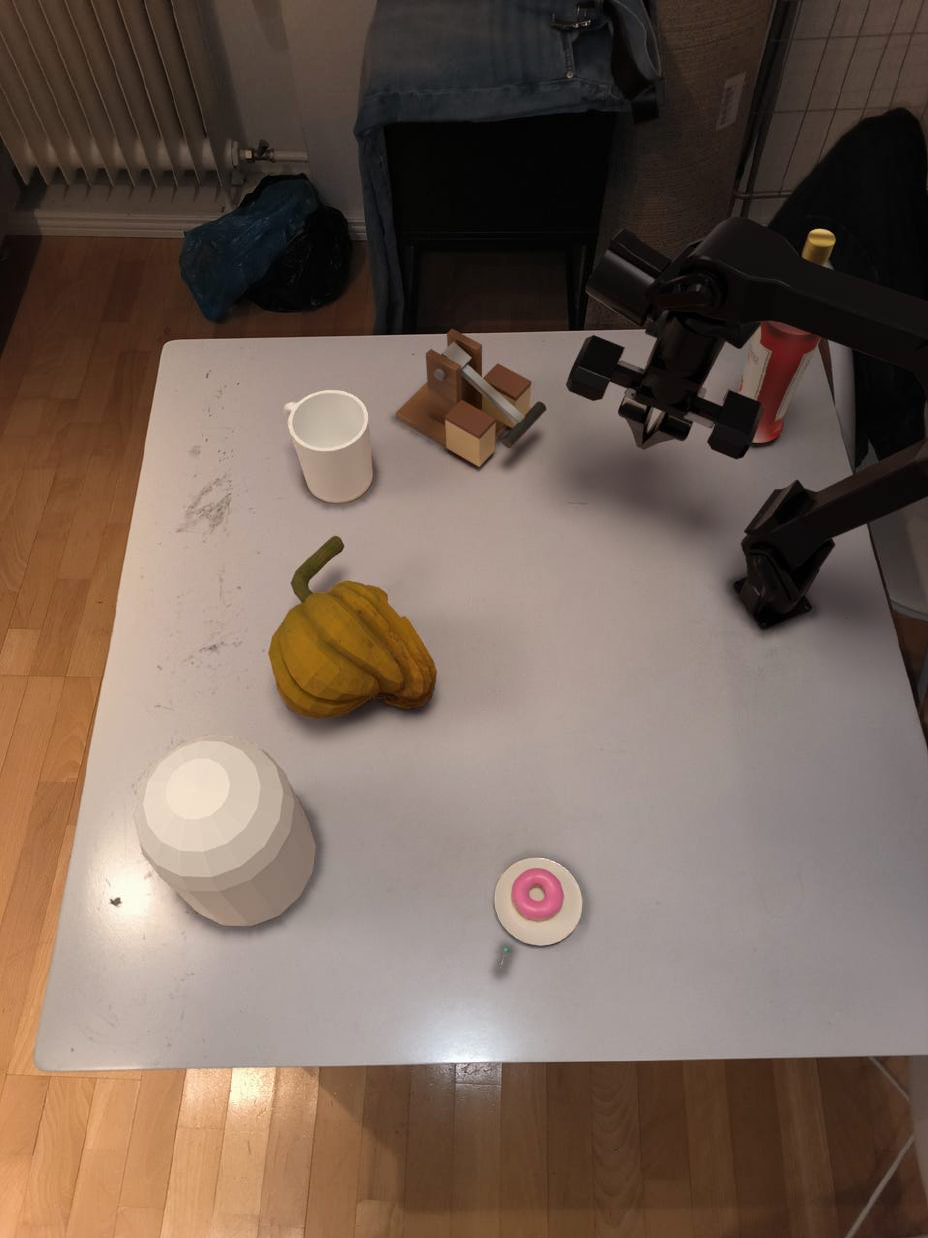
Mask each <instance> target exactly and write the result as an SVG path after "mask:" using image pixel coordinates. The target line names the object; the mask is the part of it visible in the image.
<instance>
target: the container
mask: <svg viewBox="0 0 928 1238" xmlns="http://www.w3.org/2000/svg"><path fill="white" fill-rule="evenodd" d="M132 817H133V821H134V825H135V826H134V827H135V830H136V835H137V839H138V844H139V849H140V853H141V855H142V857H143V858H144V859H145V860H146V861H147V862H148V864H149V865H150V866H151V868H152V869H153V871H154V872H155V873H156V875H157V876H158V877H159V878H160V879H161V880H162V881H163V882H164V883H166V884H167V885H168V886H169V888H171V889H172V890H173V891H174V892H175V893H176V894H177V895H179V897H180V898H181V899H182V900H184V901H185V902H186V903H187V904H188V905H189V906H190V907H192V909H193V910H195V911H196V912H197V913H198V914H199V915H201V916H203V917H205V918H207V919H209V920H211V921H213V922H215V923H216V924H219V925H221V926H223V927H225V926H226V927H253V926H256V925H259V924H261V923H264V922H267V921H270V920H272V919H275V918H277V917H279V916H280V915H281V914H283V913H284V912H285V911H286V910H287V909H289V907H291V905H293V904H294V903H295V902H296V901H297V900H298V899H299V898H301V896H302V894H303V892H304V890H305V888H306V886H307V884H308V883H309V881H310V879H311V877H312V875H313V873H314V865H315V857H316V847H317V845H316V842H315V837H314V836H313V835H314V834H313V832H312V828H311V825H310V822H309V820H308V817H307V815H306V813H305V811H304V809H303V807H302V805H301V802H300V801H299V798H298V797H297V794H296V792H295V791H294V789H293V786H292V784H291V782H290V780H289V778H288V775H287V773H286V772H285V770H283V768H282V767H281V766H280V764H278V763H277V762H276V761H275V759H274V758H272V756H271V754H269V753H268V752H267V751H265V750H264V749H263V748H261V747H260V746H257V745H256V744H253V743H251V742H248V741H246V740H245V739H242V738H240V737H237V736H235V735H213V734H211V735H209V734H208V735H207V734H206V735H202V736H200V737H196V738H193V739H191V740H188V741H185V742H183V743H182V742H181V743H179V744H178V745H176V746H175V747H174V748H172V749H171V750H169V751H168V752H166V754H165V755H163V756H162V757H161V758H159V759H158V760H157V761H156V762H155V763H154V764H153V765H152V767H151V768H150V770H149V771H148V773H147V775H146V776H145V778H144V779H143V781H142V782H141V784H140V785H139V787H138V791H137V795H136V800H135V805H134V811H133V815H132Z"/></svg>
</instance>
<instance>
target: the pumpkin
mask: <svg viewBox="0 0 928 1238" xmlns="http://www.w3.org/2000/svg"><path fill="white" fill-rule="evenodd" d="M344 549H345V544H344V542H343V540H342V538H341V537H339V536H338V535H333V536H331V537H329V539H328V540H327V541H326V542H324V544H322V545H321V546H320V547H319V549H317V550H316V551H315V552H314V553H313V554H311V555H310V556H309V557H307V559H306V560H305V561H304V562H303V563H302V564H301V565H300V566H299V567H297V569H296V570H295V571H294V574H293V577H292V578H291V581H290V585H291V588H292V591H293V593H294V595H295V596H296V597H297V598H298V600H299V601H300V603H298V604H296V605H294V606H293V607H292V608H290V609H289V610H288V612H287V613H286V615H285V617H284V618H283V620H282V622H281V623H280V625H279V626H278V628H276V630H275V632H274V633H273V635H272V636H271V640H270V644H269V648H268V657H269V661H270V666H271V669H272V674H273V676H274V678H275V679H274V680H275V685H276V690H277V692H278V694H279V695H280V697H281V698H282V700H283V702H284V704H285V705H286V707H287V708H289V709H290V710H291V711H293V712H294V713H296V714H298V715H299V716H301V717H302V718H309V719H315V720H321V719H329V718H330V719H331V718H336V717H341V716H346V715H347V714H348V713H350V712H352V711H353V710H355V709H357V708H358V707H360V706H361V705H362V704H365V702H368V701H371V700H372V699H374V700H381V699H384V702H385V704H387V705H389V706H392V707H393V706H397V707H398V708H400V709H402V710H408V709H412V708H417V707H422V706H424V705H425V704H426V703H427V702H428V701H430V700H431V699H432V697H433V694H434V691H435V690H436V681H437V674H438V670H437V668H436V665H435V661H434V659H433V657H432V655H431V654H430V652H429V650H428V648H427V647H426V645H425V643H424V641H423V640H422V638H421V637H420V636H419V633H418V632H417V630H416V629H415V627H414V625H413V624H412V621H410V620H409V618H407V616H405V615H402V616H400V615H399V614H398V613H397V611H396V610H395V608H393V607H392V605H391V604H390V603H389V596H388V595H389V594H388V593H387V592H386V591H385V590H384V589H382V588H381V587H379V586H375V585H370V584H364V583H362V582H357V581H352V580H342V581H339V582H337V583H336V584H334V585H332V587H330V588H329V589H328V590H327V591H326V592H323V591H315V592H313V591H312V590H311V589H310V588H309V584H310V581H311V580H312V579H313V578H314V577H315V576H316V575H317V574H319V572H320V571H321V570H322V569H323V568H324V567H325V566H326V565H327V564H328V563H329V562H330V561H331V560H332V559H333V558H335V557H336V556H338V555H339V554H341V553H342V552H343V551H344Z"/></svg>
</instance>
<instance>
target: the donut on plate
mask: <svg viewBox="0 0 928 1238" xmlns="http://www.w3.org/2000/svg"><path fill="white" fill-rule="evenodd" d="M494 889H495V890H494V897H493V900H494V901H493V902H494V909H495V913H496V915H497V918H498V920H499V922H500V924H501V925H502V927H503V928H504V929H505V930H506V931H507V933H509V934H510V935H511V936H513V938H514V939H517V940H518V941H521V942H522V943H525V944H528V945H532V946H549V945H553V944H556V943H560V942H561V941H563V940H565V939H566V938H567V937H568V936H569V935H570V934H572V933H573V931H574V930H575V929H576V927H577V926H578V924H579V923H580V919H581V917H582V913H583V895H582V891H581V888H580V886H579V883H578V882H577V880H576V878H575V877H574V876H573V874H571V872H570V871H569V870H568V869H567V868H566V867H564V866H563V865H562V864H560V863H558V862H556V861H555V860H551V859H548V858H545V857H527V858H524V859H521V860H518V861H516V862H514V863H513V864H511V865H509V867H507V868H506V869H505V870H504V872H503V873H502V874H501V875H500V877H499V879H498V881H497V883H496V886H495V888H494ZM503 950H504V952H508V951H509V949H508V947H504V949H503ZM504 958H505V955H503V958H502V961H501V964H503V961H504ZM498 969H500V970H501V967H499V968H498Z"/></svg>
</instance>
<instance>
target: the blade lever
mask: <svg viewBox="0 0 928 1238" xmlns="http://www.w3.org/2000/svg"><path fill="white" fill-rule="evenodd" d="M440 354H441V355H443V356H445V357H447V358H448V359H450V360H452V361H454V362H456V363H458V364H459V365H461V376H462V377H464V378H465V379H466V380H467V381H468V382H469V383H470V384H471V385H472V386H473V387H475V388H476V389H477V390H478V391H479V392H480V393H481V394H482V395H483V396H484V397H485V398H487V399H488V400H489V401H490V402H491V403H492V404H493V405H494V406H495V407H496V408H498V409H499V410H500V411H501V412H502V413H503V414H504V415H505V416H506V417H507V418H509V419H510V420H511V421H512V422H513V423H514V424H515V426H514V427H513V428H511V429H510V430H509V431H508V432H507V433H506V434H505V436H503V438H502V439H501V442H502V444H503V446H504V447H506V448H507V449H512V448H513V447H514V446H515V445H516V444H517V442H519V441H520V439H521V438H522V437H523V436H524V435H525V434H526V433H527V432H528V431H529V429H531V427H532V426H533V425H534V424H535V423H536V422H537V421H538V420H539V419H540V418H541V416H542V415H543V414H545V412H547V406H546V404H545V403H544V402H542V401H537V402H536V403H535V404H534V405H532V407H530V408H529V411H528V412H527V413H526V414H525V415H523V414H521V413H520V412H519V411H518V410H517V409H516V408H515V407H514V406H513V405H512V404H511V403H509V402H508V401H507V400H506V399H505V398H504V397H503V396H502V395H501V394H500V393H498V392H497V391H496V390H495V389H494V388H493V387H492V386H491V385H490V384H489V383H488V382H486V381H485V380H484V379H483V376H482V377H481V376H480V375H479V374H478V373H477V372H475V371H474V370H473V369H472V368H471V367H470V366H469V365H468V364H469V362H470V360H471V357H470V356H469V355H468V354H467V353H466V352H465V351H464V350H462V349H461V348H460V347H459V346H458V345H457V344H456V343H455V342H453V343H452V344H451V345H450V346H449V347H448V348H445V349H444V350H443V351H442V352H441V353H440Z"/></svg>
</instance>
